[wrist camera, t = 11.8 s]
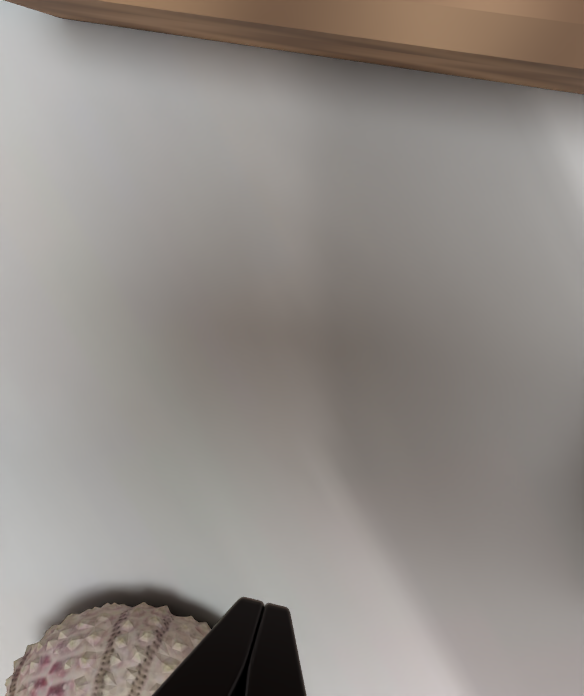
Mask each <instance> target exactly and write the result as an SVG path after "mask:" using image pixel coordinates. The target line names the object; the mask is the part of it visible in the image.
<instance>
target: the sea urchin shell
mask: <svg viewBox="0 0 584 696" xmlns="http://www.w3.org/2000/svg"><path fill="white" fill-rule="evenodd" d="M210 630H211V629H210V627H209V626H208V624H207V622H198V621H196V620H194V618H193V617H192V616H188V617H179V616H174V615H172V614H171V613H170V611H169V609H168V607H167V605H166V606H162V607H157V608H155V607H153V606H151V605H147V604H146V603H145V602H143V603H141V604H139V605H137V606H135V607H133V608H132V607H129V606H126V605H125V604H120V605H118V604H117V603H113V604H109V603H106V604H105V605H104V606H102V607H101V608H98V607H94V608H93V609H87V610H86V611H84V612H82V613H81V614H72V613H71V614H70V615H67V617H66V618H65V619H64V621H63V622H62V623H61V624H60V625H52V626H51V628H50V629H48V630H47V632H46V633H45V635H44V637H43V638H42V639H41V640H40V642H38V643H35V644H31V645H28V646H27V649H26V652H25V655H24V656H23V657H21V658H19V659H17V660H16V661H14V673H13V675H11V676H10V677H9V678H8V679H6V683H5V686H6V687H7V693H6V695H5V696H151V695H152V694H153V693H154V692H155V691H156V690H157V689H158V688H159V687H160V685H161V684H162V683H163V682H164V681H165V680H166V679H167V678H168V677H169V676H170V674H171V673H172V672H173V671H174V670H175V669H176V668H177V667H178V666H179V664H180V663H181V662H182V661H183V660H184V659H185V658H186V657H187V656H188V655H189V653H190V652H191V651H192V650H193V649H194V648H195V647H196V646H197V645H198V643H199V642H200V641H201V640H202V639H203V638H204V637H205V636H206V635H207V634H208V632H209V631H210Z"/></svg>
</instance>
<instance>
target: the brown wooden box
mask: <svg viewBox="0 0 584 696" xmlns="http://www.w3.org/2000/svg"><path fill="white" fill-rule="evenodd" d="M5 1H8V2H11V3H15V4H18V5H21V6H24V7H27V8H30V9H34V10H37V11H40V12H43V13H46V14H50V15H53V16H56V17H59V18H63V19H70V20H77V21H84V22H91V23H98V24H105V25H111V26H118V27H125V28H132V29H139V30H146V31H153V32H159V33H166V34H173V35H180V36H187V37H194V38H201V39H208V40H214V41H221V42H228V43H235V44H242V45H249V46H256V47H262V48H269V49H276V50H283V51H290V52H297V53H304V54H311V55H317V56H324V57H331V58H338V59H345V60H352V61H359V62H365V63H372V64H379V65H386V66H393V67H400V68H407V69H413V70H420V71H427V72H434V73H441V74H448V75H455V76H462V77H468V78H475V79H482V80H489V81H496V82H503V83H510V84H516V85H523V86H530V87H537V88H544V89H551V90H558V91H565V92H571V93H578V94H584V0H5Z"/></svg>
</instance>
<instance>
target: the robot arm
mask: <svg viewBox="0 0 584 696" xmlns="http://www.w3.org/2000/svg"><path fill="white" fill-rule="evenodd" d="M151 696H306V691H305V686H304V681H303V675H302V670H301V665H300V660H299V655H298V650H297V645H296V640H295V635H294V630H293V625H292V620H291V614H290V611H289V609H288V608H287V607H284V606H280V605H275V604H271V603H267V604H266V605H265V606H264V603H263V602H262V601H259V600H255V599H251V598H247V597H241V598H240V599H238V600H237V601H236V603H235V604H234V605H233V606H232V607H231V608H230V609H229V610H228V611H227V613H226V614H225V615H224V616H223V617H222V618H221V619H220V620H219V621H218V622H217V624H216V625H215V626H214V627H213V628H212V629H211V630H210V631H209V632H208V634H207V635H206V636H205V637H204V638H203V639H202V640H201V641H200V642H199V643H198V645H197V646H196V647H195V648H194V649H193V650H192V651H191V652H190V653H189V655H188V656H187V657H186V658H185V659H184V660H183V661H182V662H181V663H180V664H179V666H178V667H177V668H176V669H175V670H174V671H173V672H172V673H171V674H170V676H169V677H168V678H167V679H166V680H165V681H164V682H163V683H162V684H161V685H160V687H159V688H158V689H157V690H156V691H155V692H154V693H153V694H152V695H151Z"/></svg>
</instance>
